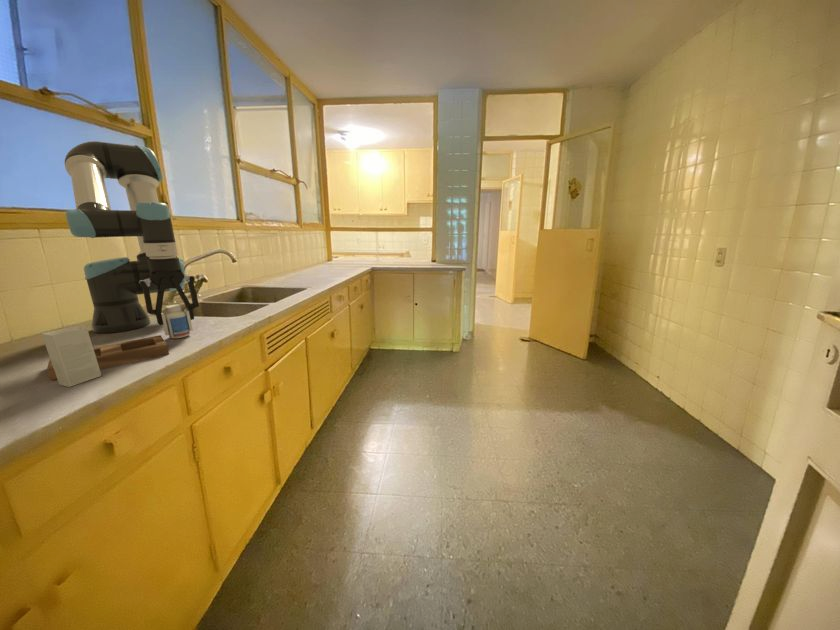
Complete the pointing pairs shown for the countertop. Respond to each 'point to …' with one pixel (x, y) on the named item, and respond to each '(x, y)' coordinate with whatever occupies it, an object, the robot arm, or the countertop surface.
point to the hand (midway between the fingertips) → (178, 331)
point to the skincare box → (72, 355)
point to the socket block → (125, 352)
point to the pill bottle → (176, 321)
